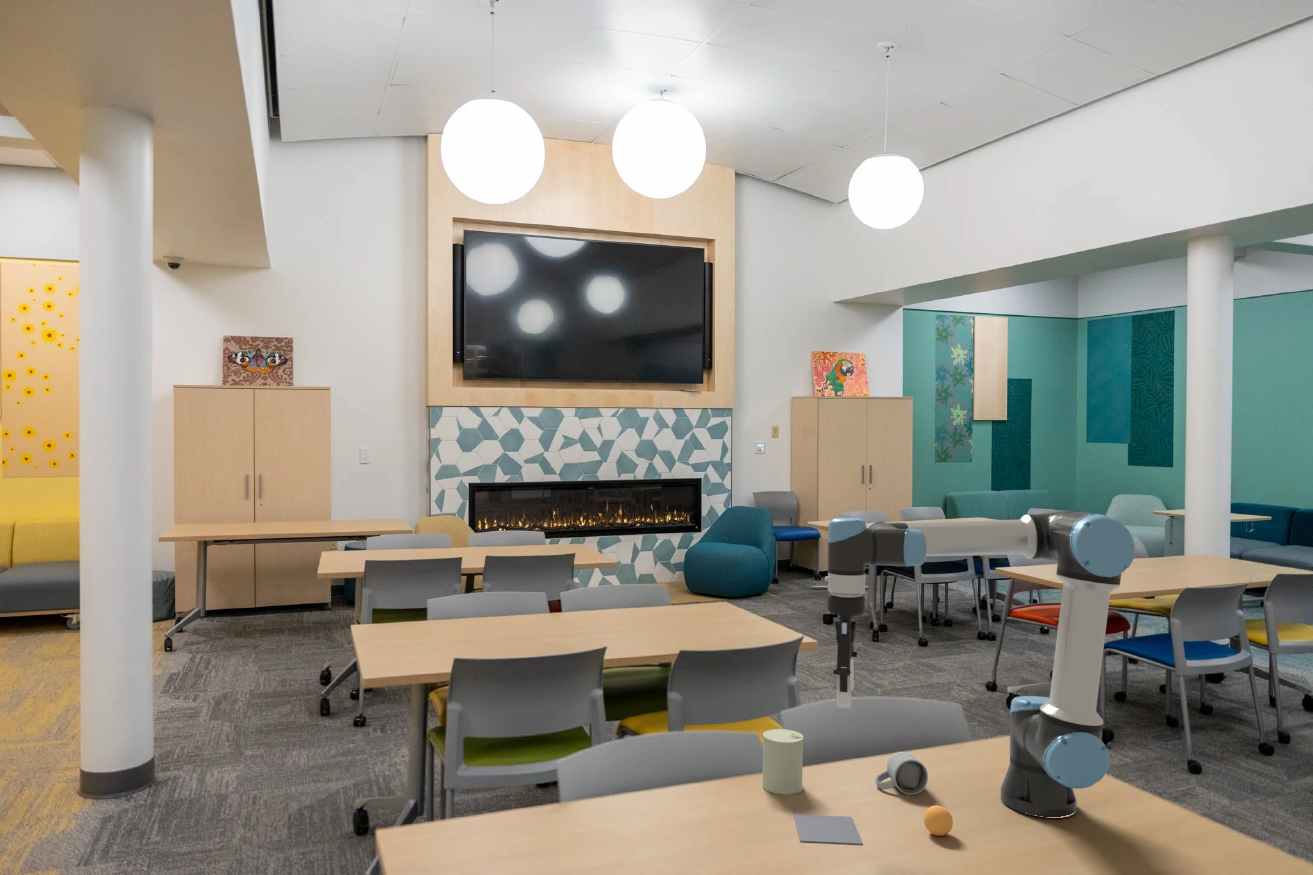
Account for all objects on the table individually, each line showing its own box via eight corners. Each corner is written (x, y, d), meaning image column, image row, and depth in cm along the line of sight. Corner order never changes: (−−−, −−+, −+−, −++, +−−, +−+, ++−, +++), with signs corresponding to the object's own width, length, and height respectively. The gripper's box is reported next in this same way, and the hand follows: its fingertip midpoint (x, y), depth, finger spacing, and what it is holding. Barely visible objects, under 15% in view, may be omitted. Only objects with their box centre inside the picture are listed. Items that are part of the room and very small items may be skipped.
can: (802, 796, 188) (803, 741, 188) (760, 792, 190) (761, 738, 190) (803, 780, 197) (804, 728, 197) (763, 776, 199) (764, 725, 199)
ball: (948, 828, 173) (948, 801, 173) (956, 841, 168) (956, 813, 168) (920, 827, 174) (921, 800, 174) (927, 840, 168) (928, 811, 168)
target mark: (851, 817, 178) (851, 816, 178) (862, 844, 166) (862, 843, 166) (793, 815, 178) (793, 814, 178) (800, 841, 166) (800, 840, 166)
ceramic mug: (915, 780, 198) (915, 747, 198) (928, 795, 190) (928, 760, 190) (870, 781, 198) (870, 747, 198) (881, 795, 190) (881, 760, 190)
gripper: (831, 583, 188) (830, 680, 188) (822, 603, 164) (822, 714, 164) (866, 585, 186) (865, 682, 186) (863, 605, 162) (862, 717, 162)
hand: (845, 697), depth 175 cm, fingers open, 13 cm apart
